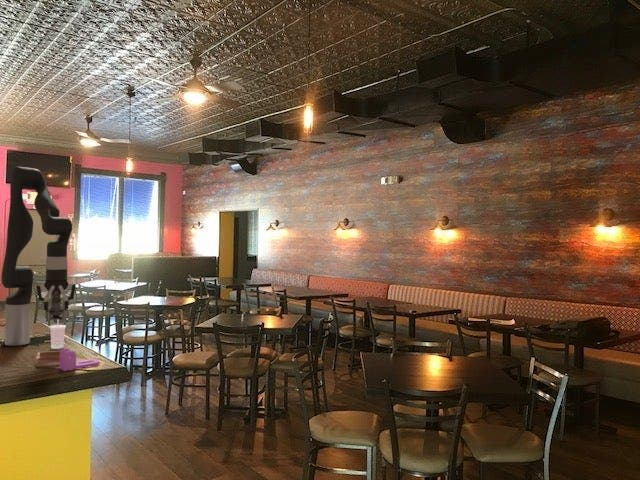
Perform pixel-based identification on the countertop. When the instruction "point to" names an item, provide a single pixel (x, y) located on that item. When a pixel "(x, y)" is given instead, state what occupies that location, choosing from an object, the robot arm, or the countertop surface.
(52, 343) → the beverage cup
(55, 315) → the salt shaker
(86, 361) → the bracket
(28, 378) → the countertop surface
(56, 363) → the shaker holder
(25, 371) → the countertop surface
